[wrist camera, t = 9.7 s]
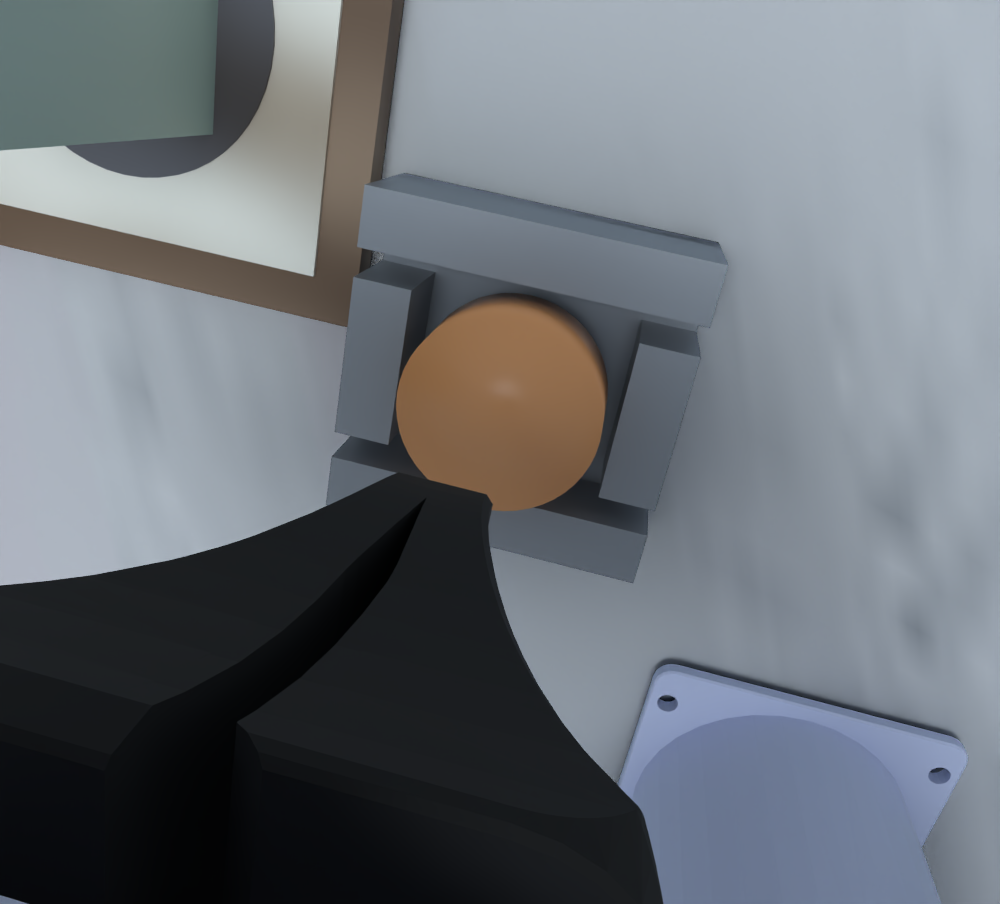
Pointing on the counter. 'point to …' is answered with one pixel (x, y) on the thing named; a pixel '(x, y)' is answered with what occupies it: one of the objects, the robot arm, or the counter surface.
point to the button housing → (560, 280)
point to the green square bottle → (105, 71)
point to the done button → (505, 400)
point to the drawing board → (235, 168)
